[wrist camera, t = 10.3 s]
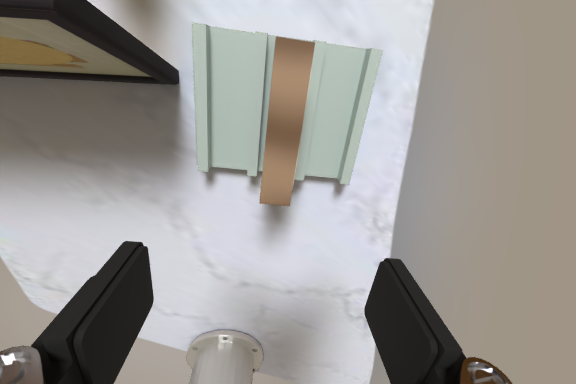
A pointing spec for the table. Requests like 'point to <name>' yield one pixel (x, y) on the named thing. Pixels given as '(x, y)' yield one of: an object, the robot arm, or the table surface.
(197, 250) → the table surface
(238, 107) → the display rail
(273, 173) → the long brown rectangular block
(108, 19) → the picture frame
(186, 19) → the table surface
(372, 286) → the robot arm
